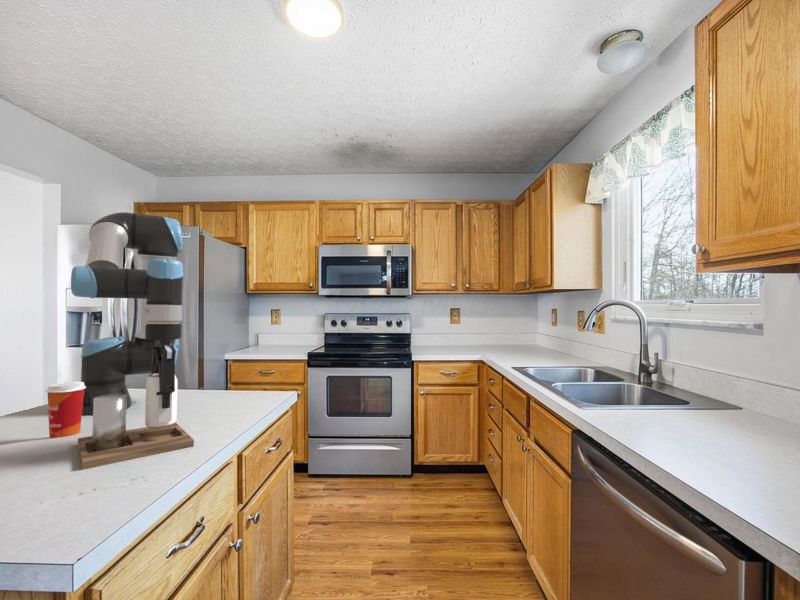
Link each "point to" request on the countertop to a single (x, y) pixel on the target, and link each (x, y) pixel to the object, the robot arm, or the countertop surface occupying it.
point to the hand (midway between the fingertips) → (161, 418)
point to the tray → (136, 445)
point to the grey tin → (109, 422)
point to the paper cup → (65, 408)
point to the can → (152, 403)
